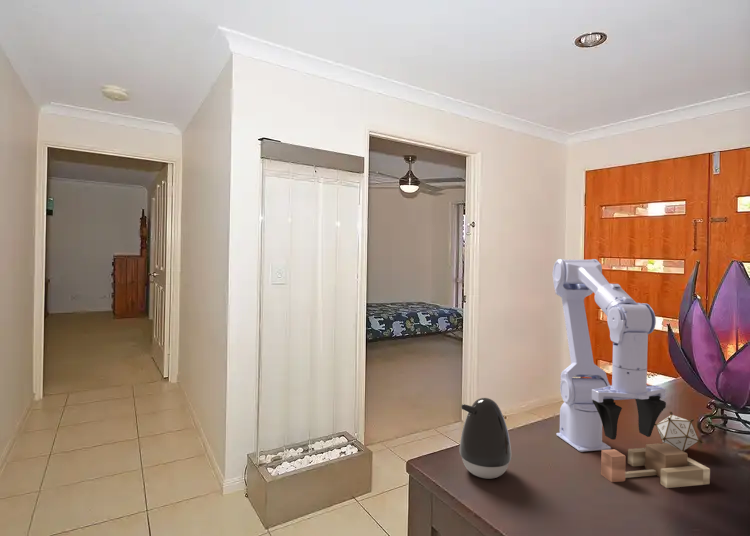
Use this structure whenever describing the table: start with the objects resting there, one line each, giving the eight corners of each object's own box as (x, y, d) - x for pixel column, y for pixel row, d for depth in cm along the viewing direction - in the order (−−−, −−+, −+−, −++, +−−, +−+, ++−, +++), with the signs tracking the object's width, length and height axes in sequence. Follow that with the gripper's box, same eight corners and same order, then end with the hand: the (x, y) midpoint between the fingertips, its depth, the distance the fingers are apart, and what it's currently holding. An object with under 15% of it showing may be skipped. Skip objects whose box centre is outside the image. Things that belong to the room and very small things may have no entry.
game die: (668, 461, 100) (656, 418, 105) (711, 459, 95) (696, 413, 100) (656, 452, 95) (644, 407, 100) (701, 449, 90) (686, 402, 95)
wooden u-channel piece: (627, 463, 91) (627, 449, 91) (666, 459, 93) (666, 446, 93) (666, 488, 81) (667, 472, 81) (709, 484, 83) (709, 468, 83)
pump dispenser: (450, 463, 90) (450, 392, 90) (493, 457, 93) (494, 388, 93) (473, 488, 81) (474, 409, 80) (521, 481, 83) (522, 404, 83)
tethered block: (597, 472, 87) (598, 447, 87) (666, 466, 90) (666, 442, 90) (615, 485, 82) (615, 459, 82) (687, 478, 85) (687, 453, 85)
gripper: (610, 373, 77) (609, 448, 77) (680, 370, 79) (678, 442, 80) (585, 363, 84) (583, 431, 84) (649, 360, 86) (647, 427, 87)
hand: (627, 436), depth 82 cm, fingers open, 7 cm apart
